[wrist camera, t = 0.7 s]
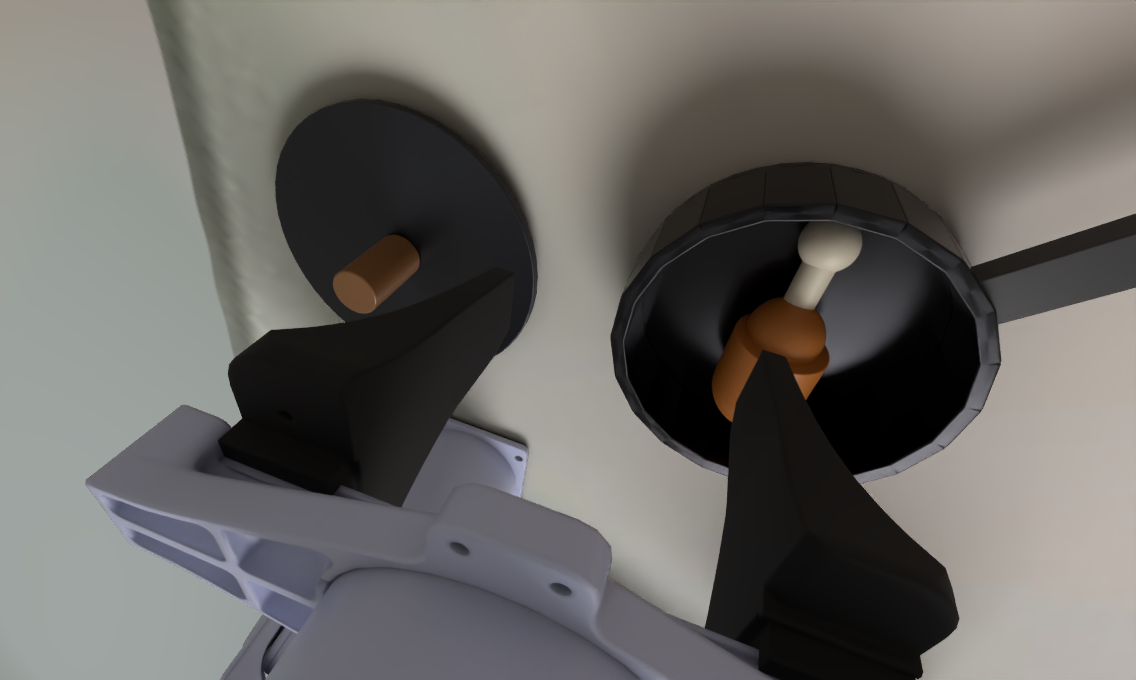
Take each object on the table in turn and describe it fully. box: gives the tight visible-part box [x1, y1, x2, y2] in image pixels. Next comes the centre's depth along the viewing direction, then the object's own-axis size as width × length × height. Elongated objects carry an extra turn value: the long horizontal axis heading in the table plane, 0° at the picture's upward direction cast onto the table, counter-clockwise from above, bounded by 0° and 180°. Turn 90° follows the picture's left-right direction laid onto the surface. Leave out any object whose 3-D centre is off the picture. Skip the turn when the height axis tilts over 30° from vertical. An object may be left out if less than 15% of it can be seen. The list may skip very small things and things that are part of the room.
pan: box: [611, 162, 1001, 484], centre depth 22 cm, size 13×13×4 cm
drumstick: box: [712, 221, 862, 422], centre depth 21 cm, size 10×4×4 cm, turn 170°
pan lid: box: [275, 99, 538, 356], centre depth 25 cm, size 14×14×5 cm
